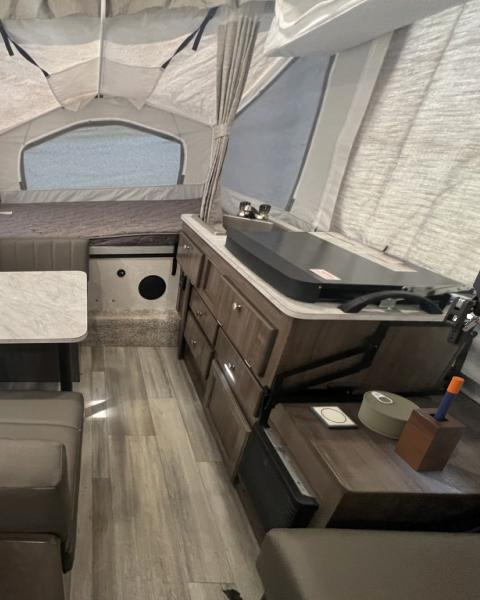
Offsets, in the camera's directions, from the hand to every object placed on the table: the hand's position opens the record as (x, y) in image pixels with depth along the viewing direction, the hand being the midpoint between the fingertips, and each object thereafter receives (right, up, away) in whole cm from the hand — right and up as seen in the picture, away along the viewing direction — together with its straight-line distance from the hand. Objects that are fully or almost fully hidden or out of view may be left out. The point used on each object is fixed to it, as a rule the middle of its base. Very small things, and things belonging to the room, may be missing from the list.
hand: (475, 343), depth 64 cm
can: (+5, -26, +24) cm, 36 cm away
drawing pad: (-8, -26, +27) cm, 38 cm away
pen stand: (+2, -31, +13) cm, 34 cm away
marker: (+1, -22, +9) cm, 24 cm away
